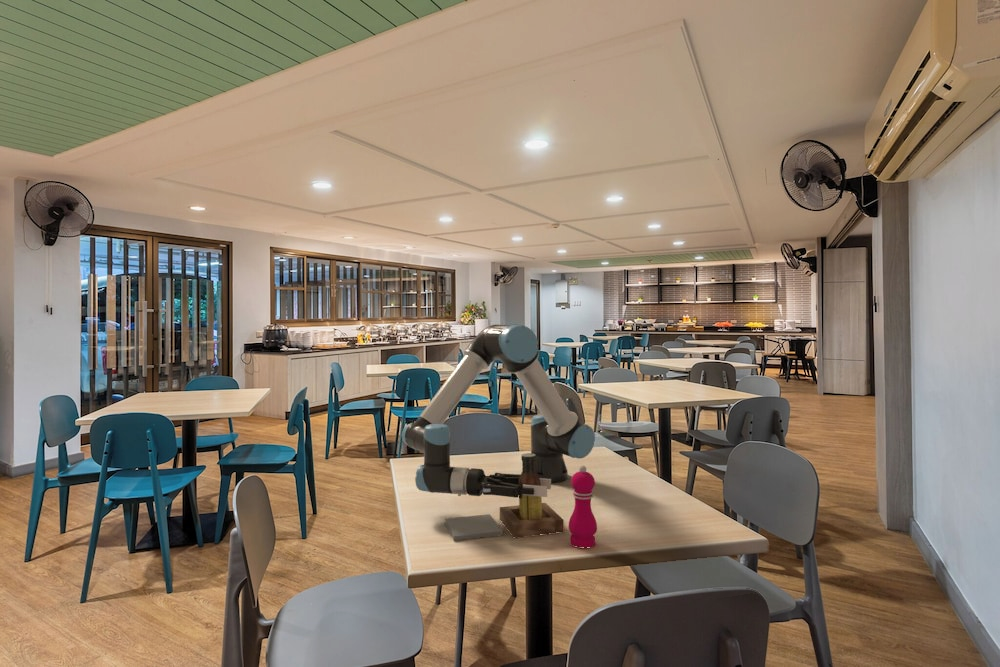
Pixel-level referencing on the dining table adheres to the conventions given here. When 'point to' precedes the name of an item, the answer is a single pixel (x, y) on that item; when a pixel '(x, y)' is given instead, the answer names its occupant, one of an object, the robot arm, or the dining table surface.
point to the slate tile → (472, 527)
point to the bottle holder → (531, 522)
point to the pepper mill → (582, 510)
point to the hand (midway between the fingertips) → (548, 487)
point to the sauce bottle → (529, 476)
